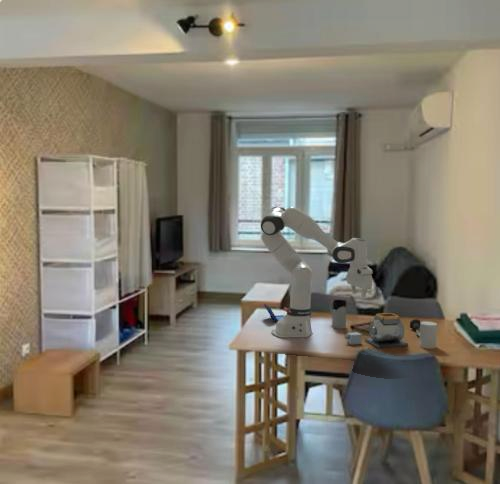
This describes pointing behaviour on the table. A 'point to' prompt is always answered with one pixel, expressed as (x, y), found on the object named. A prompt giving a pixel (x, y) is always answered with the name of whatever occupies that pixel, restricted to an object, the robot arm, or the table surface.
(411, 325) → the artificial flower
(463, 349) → the table surface
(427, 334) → the cup
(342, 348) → the table surface
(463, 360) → the table surface
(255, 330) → the table surface
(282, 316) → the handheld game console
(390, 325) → the motor
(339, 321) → the glass holder
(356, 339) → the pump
